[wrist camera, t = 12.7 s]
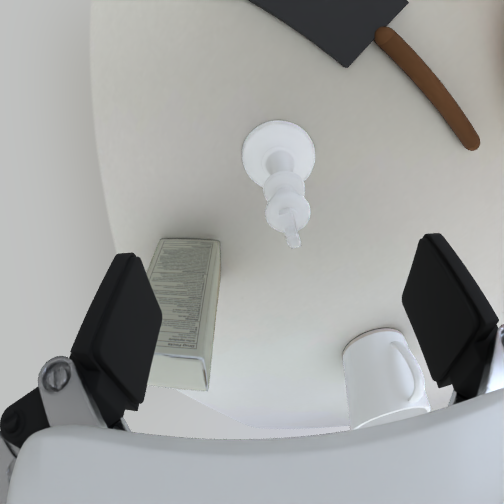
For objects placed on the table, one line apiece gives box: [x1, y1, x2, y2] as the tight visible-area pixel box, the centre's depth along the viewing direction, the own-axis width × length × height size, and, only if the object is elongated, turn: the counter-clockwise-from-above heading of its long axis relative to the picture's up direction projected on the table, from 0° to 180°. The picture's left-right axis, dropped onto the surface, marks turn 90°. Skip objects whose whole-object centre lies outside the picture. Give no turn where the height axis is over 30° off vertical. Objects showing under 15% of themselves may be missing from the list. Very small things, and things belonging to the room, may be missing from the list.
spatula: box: [248, 0, 480, 151], centre depth 13 cm, size 20×7×2 cm, turn 55°
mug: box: [342, 328, 431, 430], centre depth 28 cm, size 11×9×10 cm
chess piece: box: [242, 120, 315, 249], centre depth 15 cm, size 5×5×10 cm
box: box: [146, 239, 221, 391], centre depth 21 cm, size 5×4×11 cm
